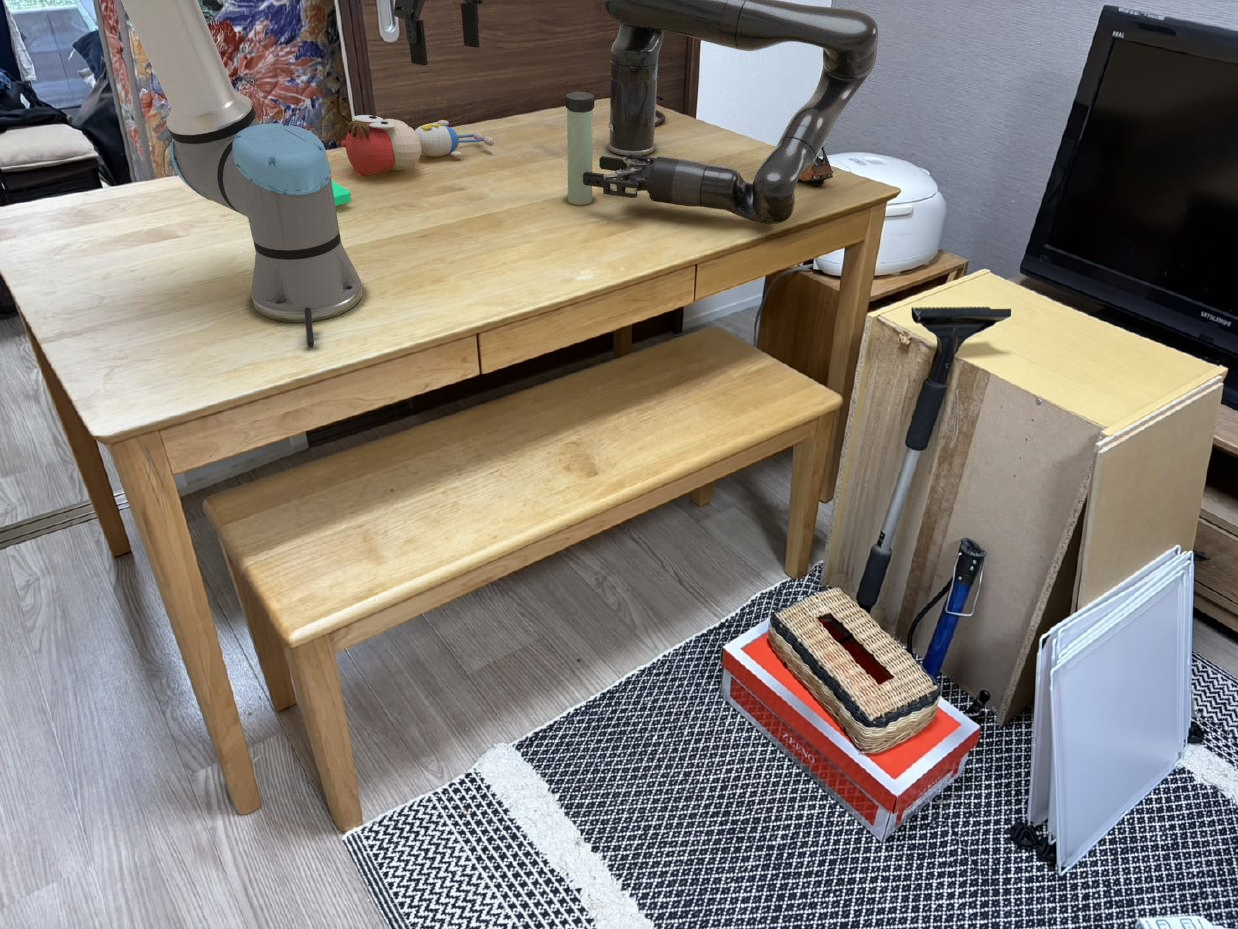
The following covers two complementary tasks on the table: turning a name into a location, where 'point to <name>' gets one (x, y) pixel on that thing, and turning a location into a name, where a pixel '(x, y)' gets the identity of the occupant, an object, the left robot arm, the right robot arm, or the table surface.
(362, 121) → the toy
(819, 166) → the toy car
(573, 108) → the lid
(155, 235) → the table surface
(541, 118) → the table surface
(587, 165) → the jar
